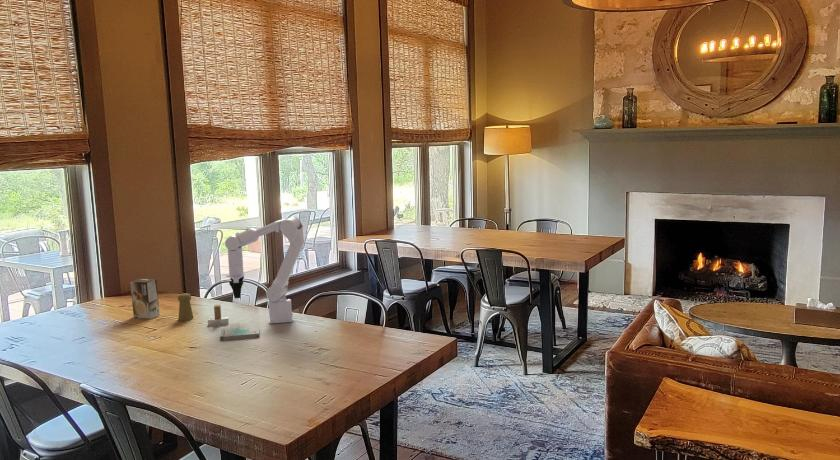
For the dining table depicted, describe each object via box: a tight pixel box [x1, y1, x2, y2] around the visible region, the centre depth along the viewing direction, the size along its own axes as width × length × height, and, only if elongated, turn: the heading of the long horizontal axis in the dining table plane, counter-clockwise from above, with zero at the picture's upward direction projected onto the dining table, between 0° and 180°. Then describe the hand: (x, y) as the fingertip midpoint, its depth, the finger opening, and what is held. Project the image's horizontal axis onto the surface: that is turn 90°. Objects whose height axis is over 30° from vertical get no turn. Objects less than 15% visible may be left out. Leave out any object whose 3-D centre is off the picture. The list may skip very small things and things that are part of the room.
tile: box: [231, 328, 250, 335], centre depth 248 cm, size 6×6×2 cm
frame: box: [219, 325, 260, 342], centre depth 247 cm, size 14×10×2 cm
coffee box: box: [130, 278, 160, 320], centre depth 273 cm, size 9×6×16 cm
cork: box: [177, 292, 194, 322], centre depth 268 cm, size 6×6×11 cm
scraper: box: [207, 304, 230, 327], centre depth 261 cm, size 8×2×8 cm, turn 104°
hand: (237, 295), depth 265 cm, fingers open, 7 cm apart
